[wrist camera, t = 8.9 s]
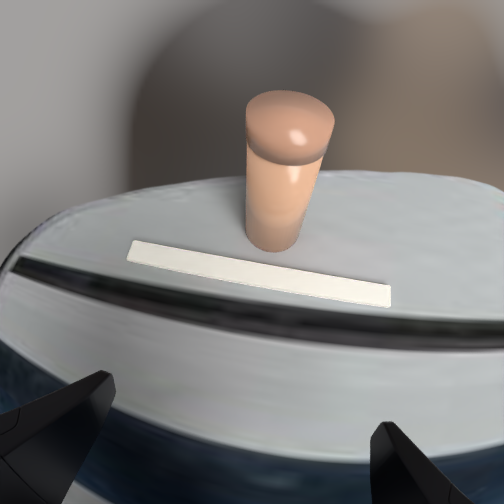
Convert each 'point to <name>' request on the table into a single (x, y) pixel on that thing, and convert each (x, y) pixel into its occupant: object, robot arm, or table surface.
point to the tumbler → (282, 164)
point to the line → (260, 274)
